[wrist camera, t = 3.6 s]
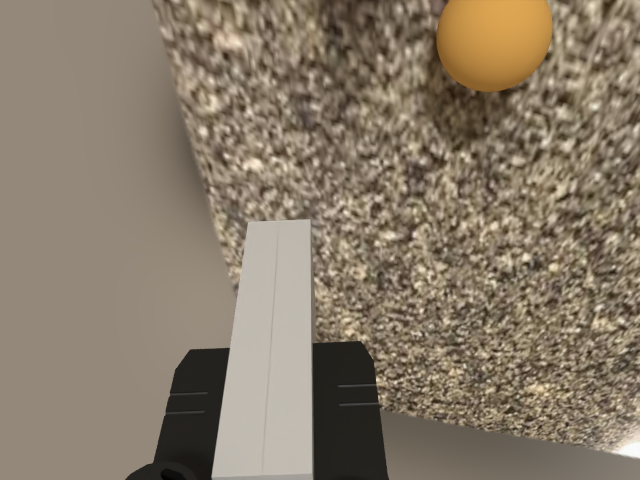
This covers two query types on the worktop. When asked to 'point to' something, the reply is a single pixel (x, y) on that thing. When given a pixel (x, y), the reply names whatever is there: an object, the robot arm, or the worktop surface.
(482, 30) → the ball
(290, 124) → the worktop surface
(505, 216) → the worktop surface
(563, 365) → the worktop surface
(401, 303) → the worktop surface
